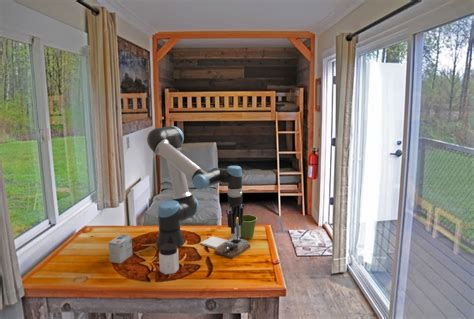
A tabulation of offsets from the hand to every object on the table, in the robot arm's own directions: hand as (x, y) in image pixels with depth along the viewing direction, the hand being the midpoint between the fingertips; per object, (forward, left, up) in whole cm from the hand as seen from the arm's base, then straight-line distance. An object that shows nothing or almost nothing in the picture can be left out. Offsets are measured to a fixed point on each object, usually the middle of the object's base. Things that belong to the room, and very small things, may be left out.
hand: (235, 237), depth 203 cm
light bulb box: (-42, -42, -6) cm, 60 cm away
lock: (0, -3, -6) cm, 7 cm away
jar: (-12, -38, -6) cm, 40 cm away
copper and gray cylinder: (0, 0, -5) cm, 5 cm away
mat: (-14, -1, -6) cm, 15 cm away
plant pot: (-4, +17, -6) cm, 19 cm away
